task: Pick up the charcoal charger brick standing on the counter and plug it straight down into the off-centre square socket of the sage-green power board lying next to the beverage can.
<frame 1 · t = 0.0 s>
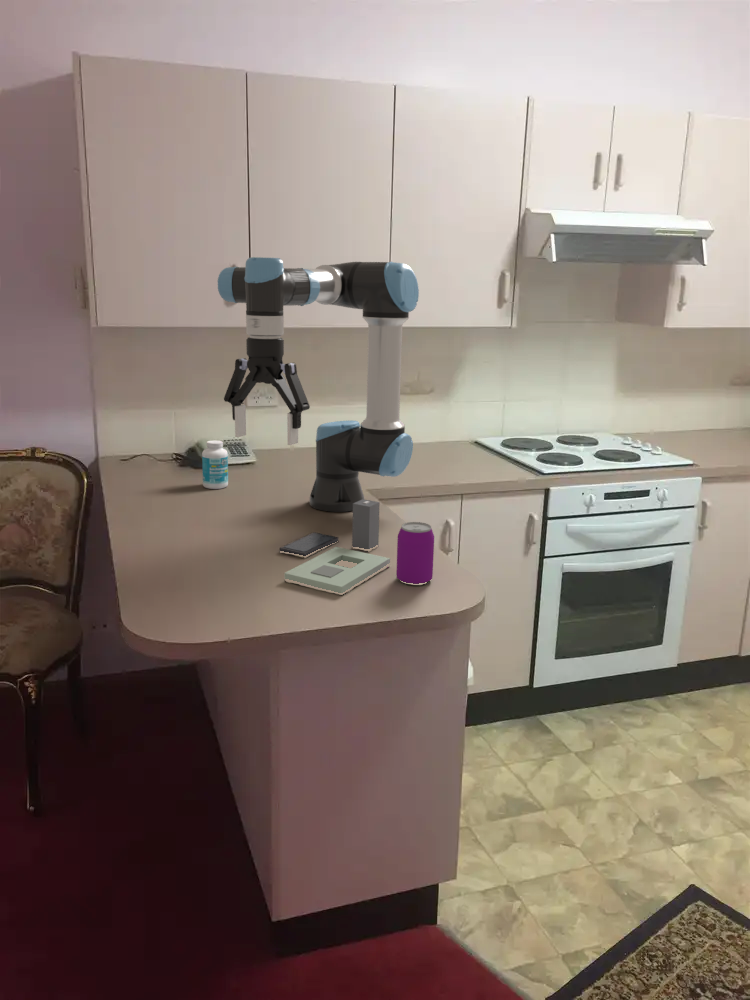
hand: (266, 440, 170), 28 cm above the countertop, fingers open, 13 cm apart
outlet plate: (338, 574, 174), on the countertop
pill bottle: (215, 487, 241), on the countertop
beverage can: (414, 581, 172), on the countertop
charger brick: (365, 547, 191), on the countertop
phone: (309, 547, 190), on the countertop
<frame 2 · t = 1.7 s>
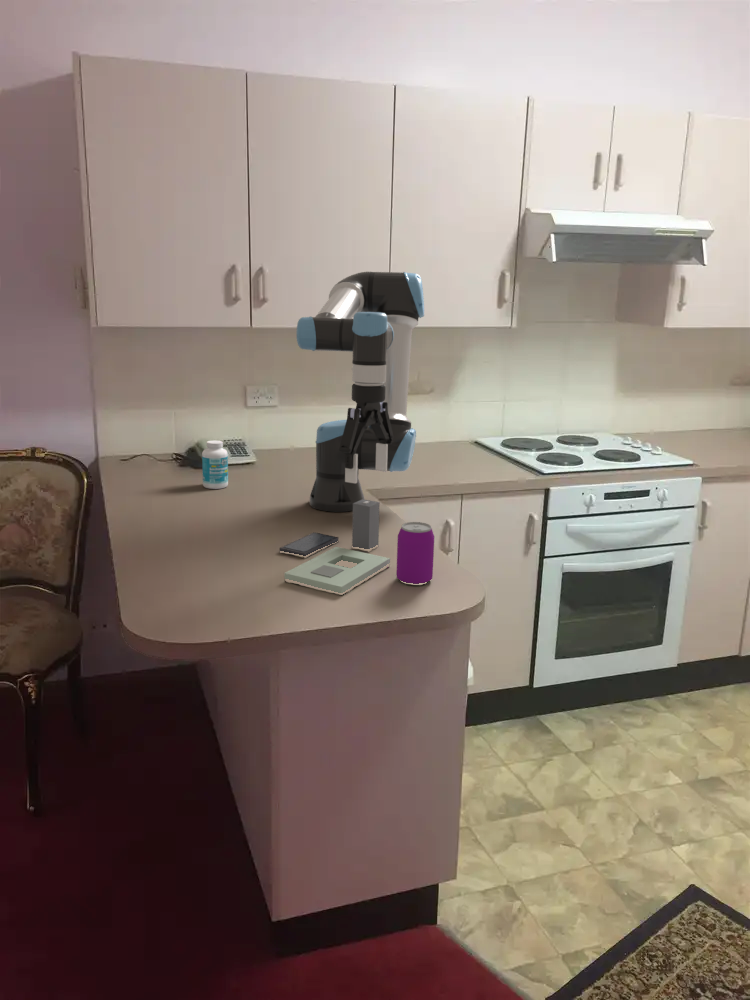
hand: (366, 476, 186), 17 cm above the countertop, fingers open, 13 cm apart
nothing on the countertop moved.
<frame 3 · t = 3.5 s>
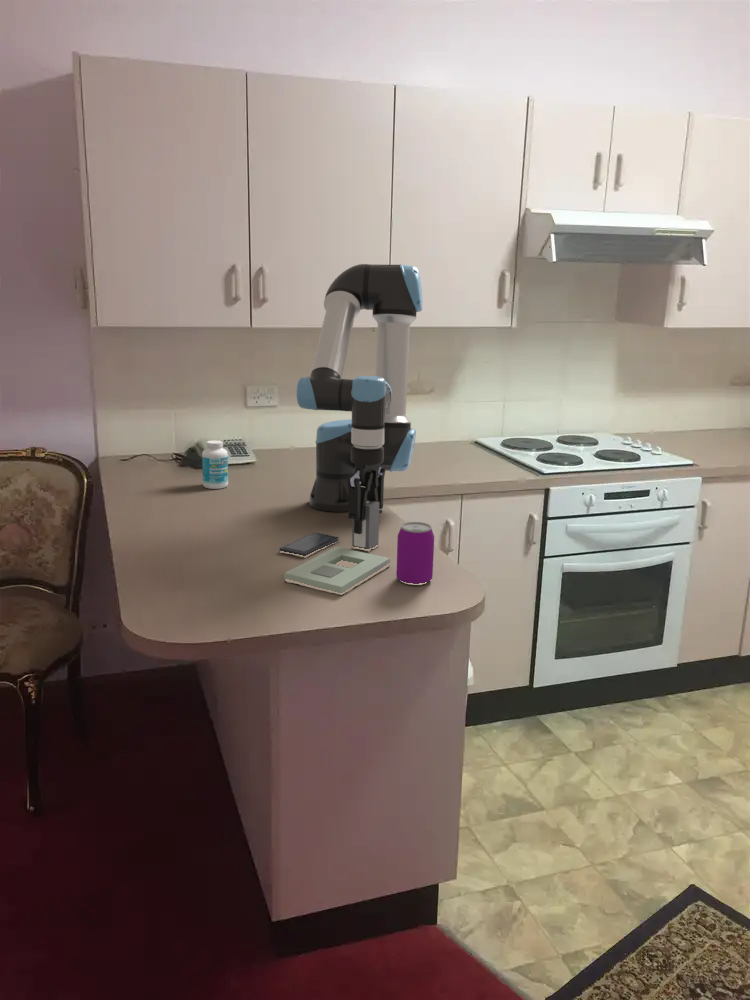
hand: (365, 542, 191), 1 cm above the countertop, fingers closed on charger brick, 4 cm apart
charger brick: (365, 547, 191), on the countertop, touching gripper
everything else where it was.
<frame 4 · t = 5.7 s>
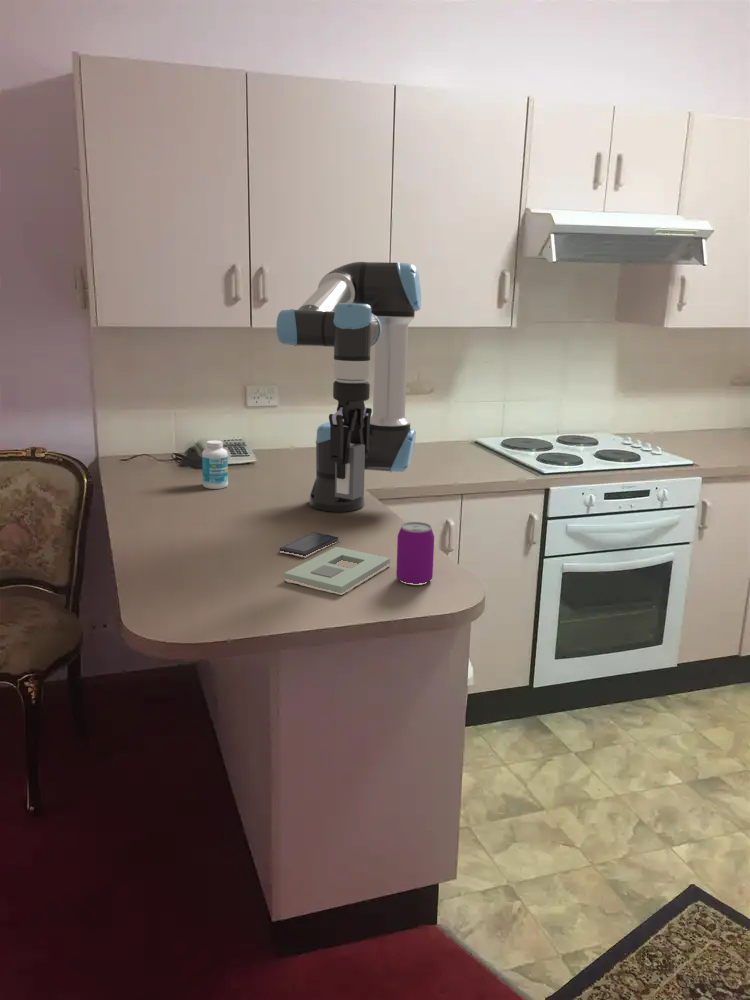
hand: (349, 490, 173), 18 cm above the countertop, fingers closed on charger brick, 4 cm apart
charger brick: (349, 495, 173), point 16 cm above the countertop, touching gripper
everything else where it was.
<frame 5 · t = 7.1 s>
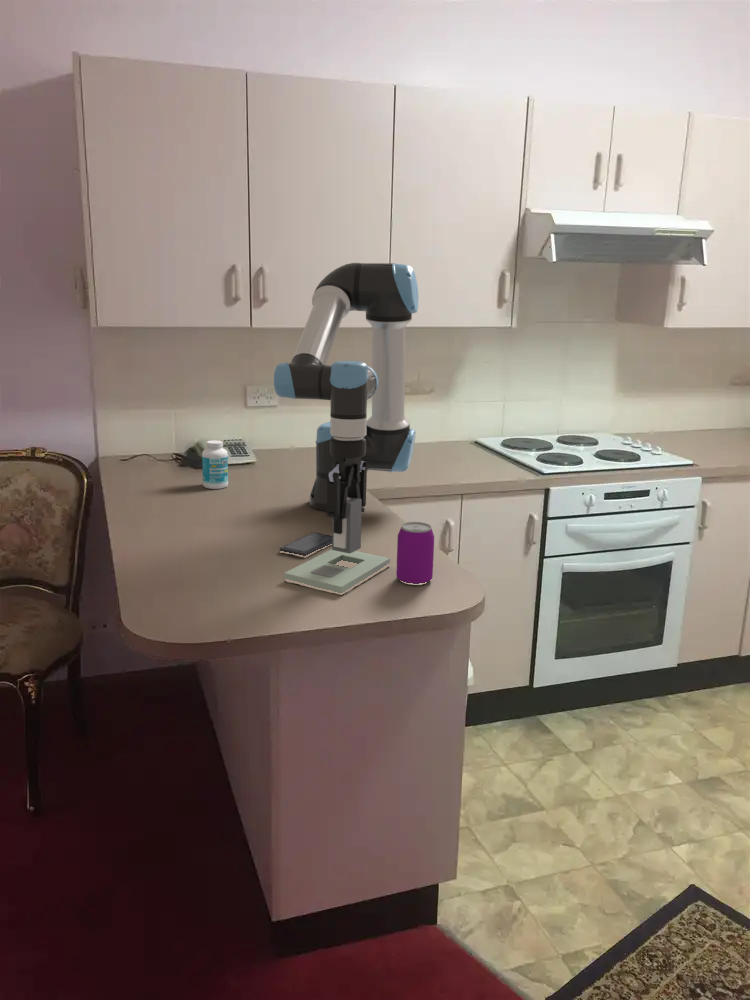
hand: (346, 543, 175), 6 cm above the countertop, fingers closed on charger brick, 4 cm apart
charger brick: (346, 548, 175), point 5 cm above the countertop, touching gripper
everything else where it was.
when the fingers open (3 cm above the countertop, at t = 7.9 s): charger brick drops 1 cm, resting on outlet plate.
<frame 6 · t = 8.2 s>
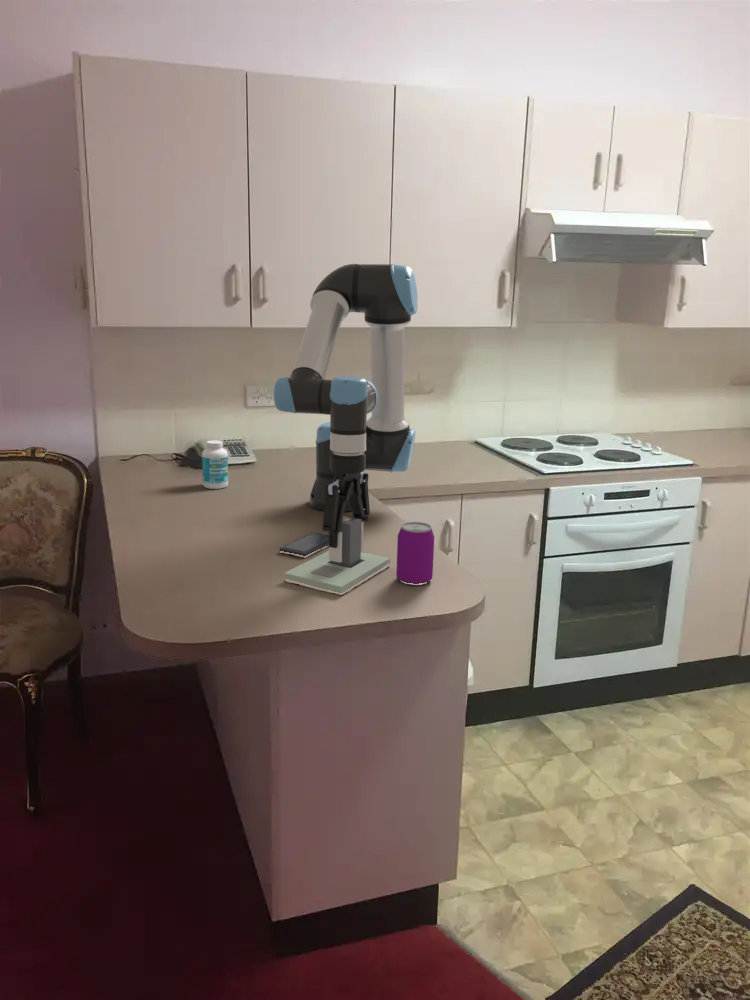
hand: (346, 554, 175), 3 cm above the countertop, fingers open, 8 cm apart
charger brick: (346, 568, 176), resting on outlet plate
everything else where it was.
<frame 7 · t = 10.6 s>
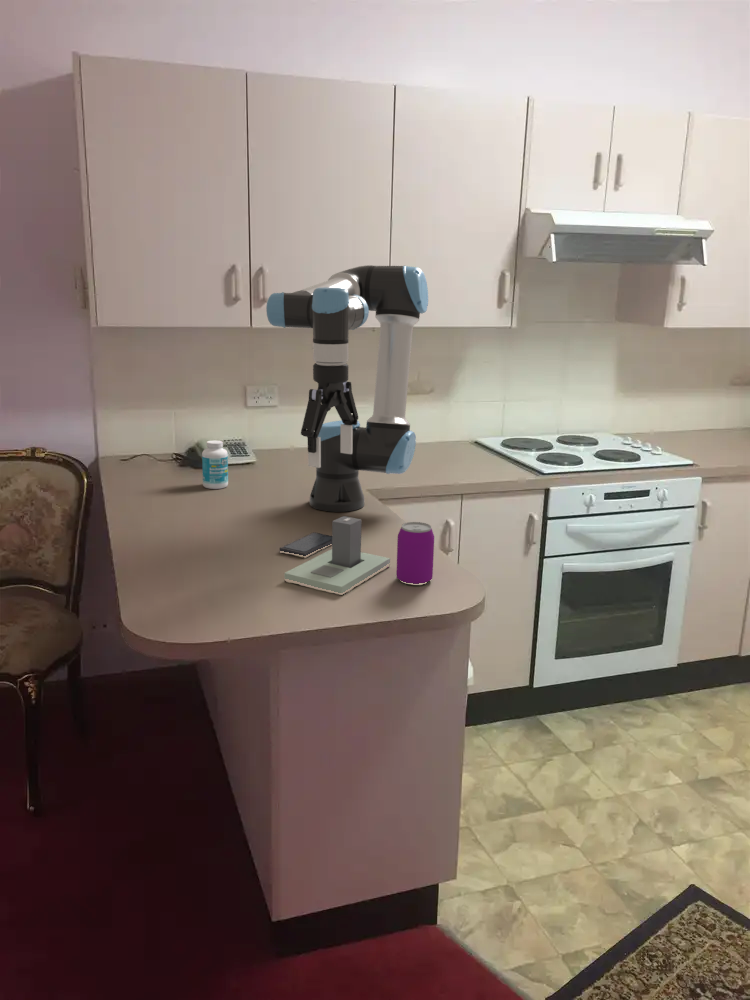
hand: (331, 459, 179), 22 cm above the countertop, fingers open, 13 cm apart
nothing on the countertop moved.
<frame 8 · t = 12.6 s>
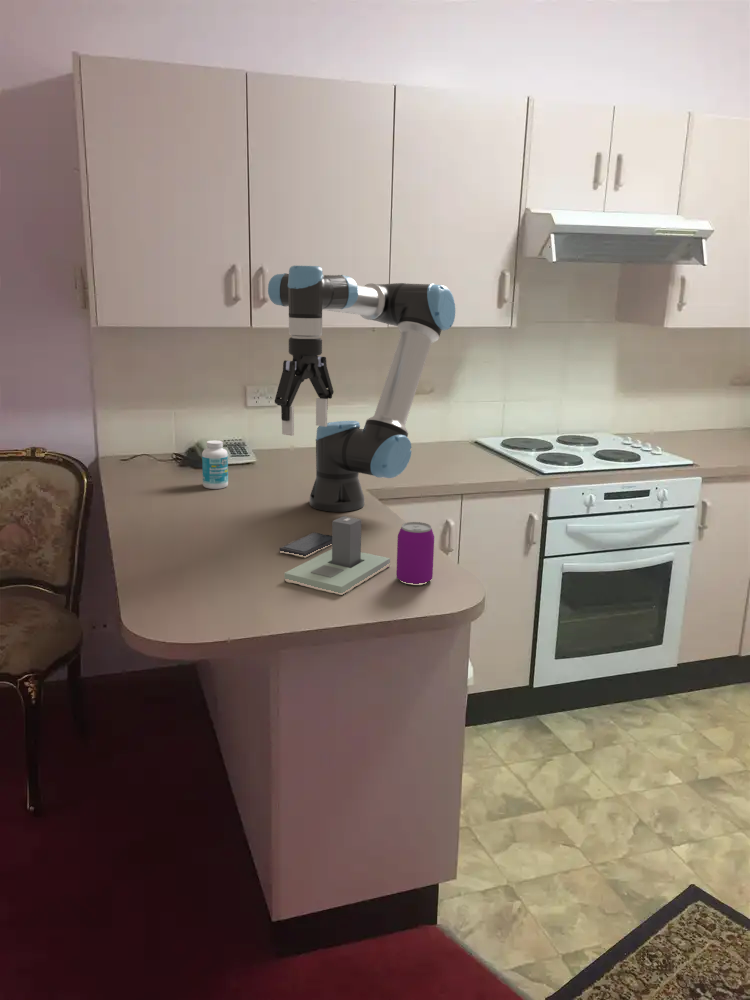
hand: (305, 430, 188), 27 cm above the countertop, fingers open, 13 cm apart
nothing on the countertop moved.
at the end: charger brick 0.0 cm from the target spot on the outlet plate, point 0.3 cm above the outlet plate's base; charger brick tilted 0°; the gripper is holding nothing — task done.
